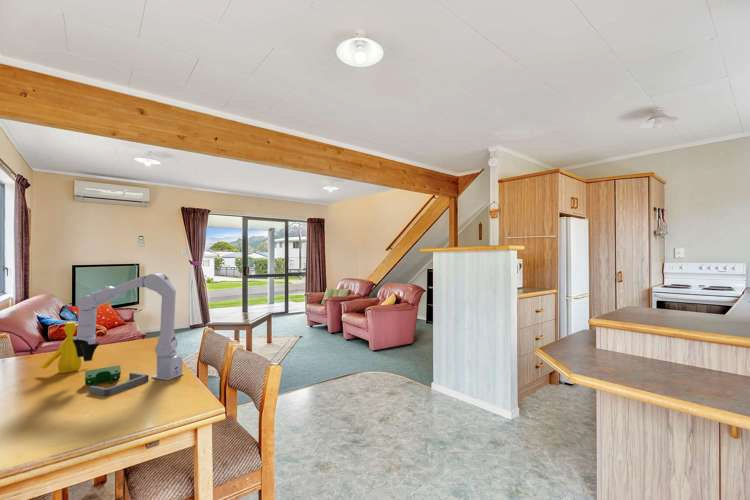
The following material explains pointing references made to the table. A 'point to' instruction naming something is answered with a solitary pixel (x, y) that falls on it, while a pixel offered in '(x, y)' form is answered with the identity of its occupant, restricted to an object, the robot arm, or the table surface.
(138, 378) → the tool bay
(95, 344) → the robot arm
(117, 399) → the table surface
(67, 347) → the figure statuette
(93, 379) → the clamp
